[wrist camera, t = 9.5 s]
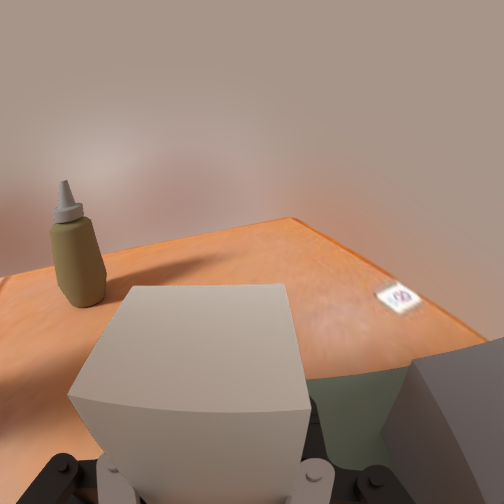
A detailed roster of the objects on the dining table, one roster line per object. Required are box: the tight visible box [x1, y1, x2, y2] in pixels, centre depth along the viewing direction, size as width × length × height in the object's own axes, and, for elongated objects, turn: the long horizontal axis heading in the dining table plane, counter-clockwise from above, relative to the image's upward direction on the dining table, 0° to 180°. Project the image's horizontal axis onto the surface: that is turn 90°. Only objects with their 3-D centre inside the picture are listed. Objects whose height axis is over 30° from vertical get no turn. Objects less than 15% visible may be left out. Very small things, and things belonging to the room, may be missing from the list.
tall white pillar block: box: [67, 284, 311, 504], centre depth 9 cm, size 5×5×14 cm
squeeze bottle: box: [50, 180, 107, 307], centre depth 38 cm, size 8×8×18 cm
